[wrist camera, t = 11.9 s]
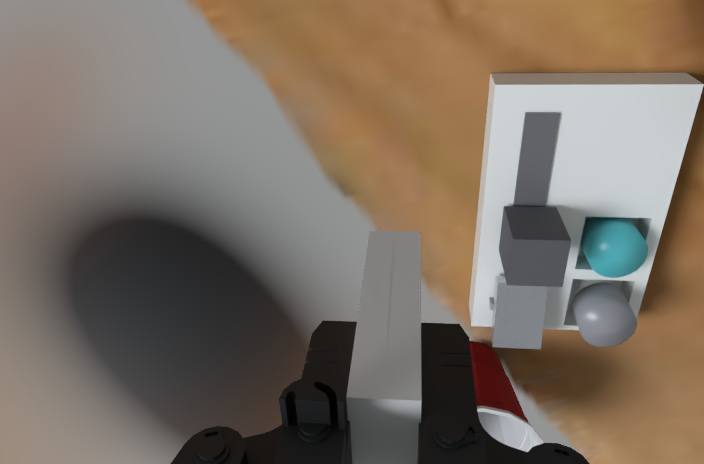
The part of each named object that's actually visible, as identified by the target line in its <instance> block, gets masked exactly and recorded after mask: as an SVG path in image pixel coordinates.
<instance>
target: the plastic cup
mask: <svg viewBox="0 0 704 464" xmlns="http://www.w3.org/2000/svg"><path fill="white" fill-rule="evenodd" d="M469 342H470V350H471V359H472V369H473V376H474V385H475V394H476V402H477V411H478V416H479V420H480V423H481V424H482V426H483V428H484V429H485V430H486V431H487V432H488V433H489V434H490V436H492V437H493V438H495V439H496V440H498V441H499V442H501V443H503V444H505V445H508V446H510V447H513V448H516V449H519V450H522V451H525V452H528V451H529V450H530V449H531V448H532V447H534V446H537V445H540V444H543V443H544V442H543V441H542V439H541V438H540V437H539V435H538V434H537V433H536V431H535V430H534V429H533V428H532V426H531V425H530V423H529V422H528V420H527V418H526V417H525V416H524V414H523V411H522V408H521V406H520V404H519V401H518V399H517V397H516V395H515V392H514V390H513V388H512V385H511V383H510V381H509V378H508V377H507V375H506V374H505V371H504V369H503V366H502V364H501V362H500V359H499V358H498V357H497V355H496V354H495V352H494V351H493V350H492V349H491V348H490V347H488V346H486V345H485V344H483V343H479V342H473V341H469Z"/></svg>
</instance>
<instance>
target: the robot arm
mask: <svg viewBox="0 0 704 464" xmlns="http://www.w3.org/2000/svg"><path fill="white" fill-rule="evenodd" d="M279 403H280V410H281V416H282V425H281V426H279V427H277V428H276V429H274V430H272V431H269V432H266V433H263V434H259V435H255V436H250V437H246V438H242V436H241V435H240V434H239V432H237V431H235V430H233V429H231V428H229V427H220V426H216V427H212V428H208V429H204V430H202V431H201V432H199V433H197V434H195V435H193V436H192V437H191V438H190V439H189V440H188V441H187V442H186V443H185V444H184V446H183V447H182V449H181V450H180V451H179V453H178V454H177V456H176V457H175V458H174V460H173V462H172V463H171V464H589V463H588V461H587V460H586V459H585V458H584V457H583V456H582V455H581V454H579V453H578V452H576V451H575V450H573V449H572V448H570V447H567V446H564V445H561V444H557V443H543V444H540V445H537V446H534V447H532V448H531V449H530V450H529V451H528V452H525V451H522V450H519V449H516V448H513V447H510V446H508V445H505V444H503V443H501V442H499V441H498V440H496V439H495V438H493V437H492V436H490V434H489V433H488V432H487V431H486V430H485V429H484V428H483V426H482V424H481V423H480V420H479V416H478V411H477V402H476V394H475V385H474V376H473V369H472V359H471V350H470V342H469V337H468V336H467V334H466V333H465V331H464V330H463V329H462V327H461V326H460V324H442V323H421V266H420V232H407V231H370V233H369V241H368V248H367V255H366V262H365V269H364V276H363V283H362V290H361V297H360V304H359V311H358V318H357V322H346V321H345V322H344V321H322V323H321V324H320V325H319V326H318V327H317V329H316V330H315V331H314V332H313V333H312V336H311V341H310V345H309V351H308V353H307V358H306V363H305V366H304V370H303V375H302V378H301V379H300V380H298V381H295V382H293V383H291V385H289V386H288V387H287V388H286V389H284V390H283V393H282V394H281V396H280V398H279Z"/></svg>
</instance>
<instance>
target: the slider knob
mask: <svg viewBox="0 0 704 464" xmlns="http://www.w3.org/2000/svg"><path fill="white" fill-rule="evenodd" d="M570 246H571V238H570V236H569V234H568V232H567V230H566V227H565V225H564V223H563V221H562V218H561V216H560V214H559V212H558V209H557V207H525V206H504V209H503V217H502V225H501V234H500V242H499V253H500V257H501V262H502V266H503V270H504V275H505V279H506V283H507V285H514V286H545V287H563V282H564V277H565V271H566V266H567V261H568V256H569V251H570Z"/></svg>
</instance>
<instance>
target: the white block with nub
mask: <svg viewBox="0 0 704 464" xmlns="http://www.w3.org/2000/svg"><path fill="white" fill-rule="evenodd" d="M547 289H548V287H545V286H514V285H507V283H506V279H505V276H495V288H494V301H493V314H492V327H491V343H492V347H499V348H523V349H541V343H542V334H543V325H544V316H545V307H546V298H547Z"/></svg>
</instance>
